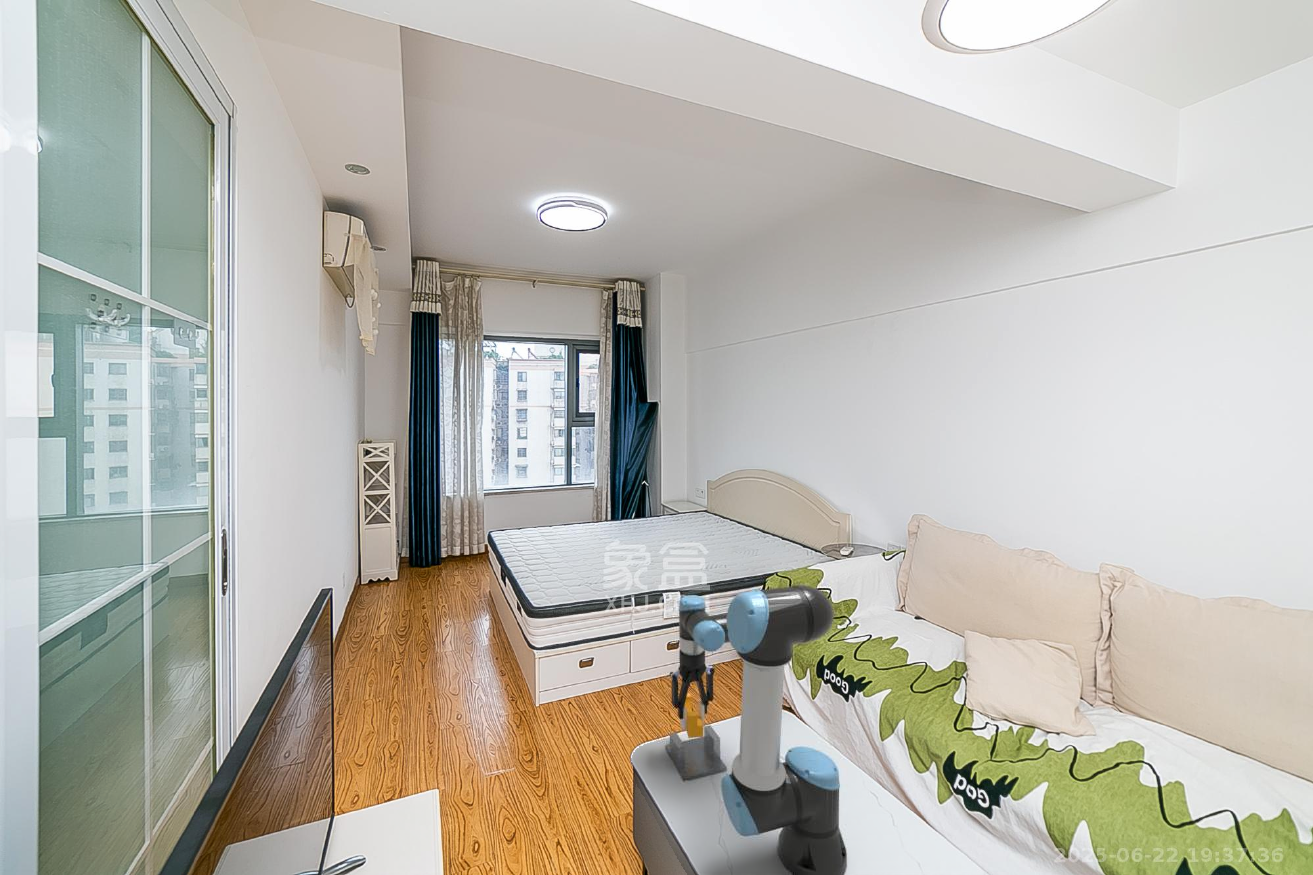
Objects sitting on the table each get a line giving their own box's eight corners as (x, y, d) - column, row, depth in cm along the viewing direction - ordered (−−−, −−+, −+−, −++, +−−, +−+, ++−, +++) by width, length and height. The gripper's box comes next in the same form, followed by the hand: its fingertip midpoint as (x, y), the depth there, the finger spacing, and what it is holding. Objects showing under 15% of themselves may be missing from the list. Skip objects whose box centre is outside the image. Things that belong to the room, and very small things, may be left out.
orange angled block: (703, 736, 157) (703, 714, 156) (688, 737, 156) (688, 715, 156) (695, 713, 168) (695, 692, 168) (681, 714, 168) (681, 693, 168)
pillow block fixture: (726, 770, 155) (726, 746, 155) (684, 781, 151) (683, 756, 150) (704, 739, 170) (704, 717, 169) (665, 748, 165) (664, 725, 165)
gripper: (715, 639, 166) (715, 713, 168) (658, 648, 160) (659, 725, 162) (725, 650, 159) (726, 727, 160) (667, 660, 153) (668, 740, 155)
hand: (692, 726), depth 161 cm, fingers closed on orange angled block, 5 cm apart
